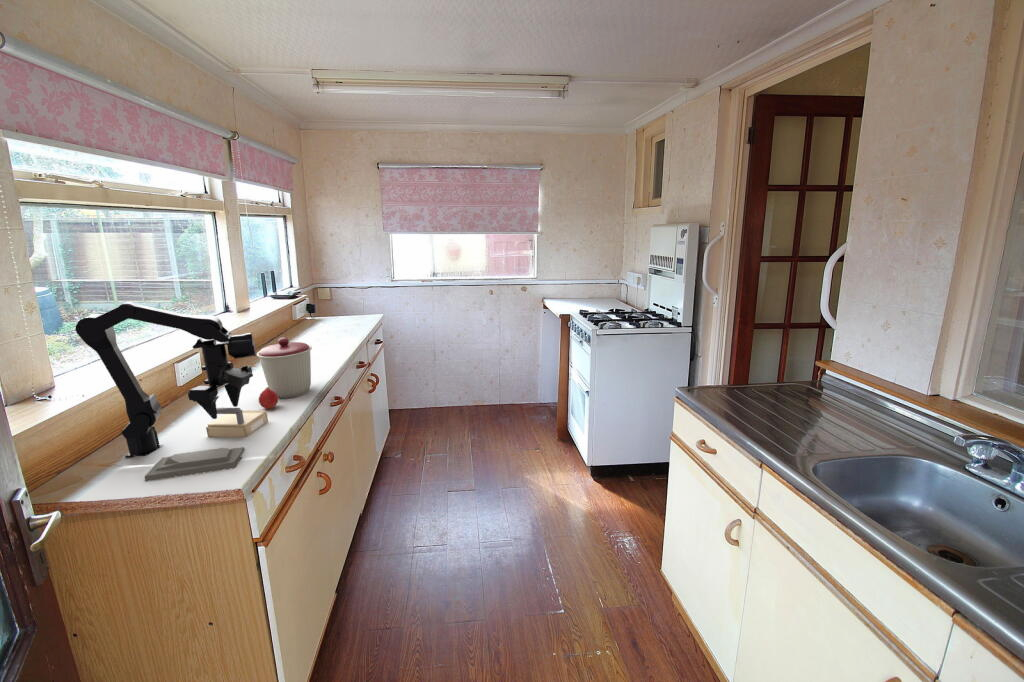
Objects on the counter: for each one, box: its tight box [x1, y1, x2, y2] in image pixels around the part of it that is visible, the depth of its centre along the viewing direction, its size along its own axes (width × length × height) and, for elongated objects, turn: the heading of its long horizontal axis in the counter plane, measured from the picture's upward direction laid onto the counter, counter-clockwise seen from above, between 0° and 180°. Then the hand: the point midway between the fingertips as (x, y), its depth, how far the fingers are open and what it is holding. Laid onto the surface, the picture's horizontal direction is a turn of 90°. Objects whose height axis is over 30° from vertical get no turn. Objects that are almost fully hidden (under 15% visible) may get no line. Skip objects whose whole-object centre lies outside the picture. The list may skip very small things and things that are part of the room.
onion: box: [258, 386, 279, 410], centre depth 162 cm, size 6×6×8 cm
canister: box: [256, 337, 313, 399], centre depth 176 cm, size 18×18×21 cm
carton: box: [205, 412, 269, 438], centre depth 146 cm, size 11×12×3 cm
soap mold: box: [144, 446, 245, 482], centre depth 126 cm, size 10×20×4 cm, turn 105°
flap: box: [207, 407, 267, 427], centre depth 146 cm, size 10×12×5 cm
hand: (225, 412), depth 141 cm, fingers open, 9 cm apart
